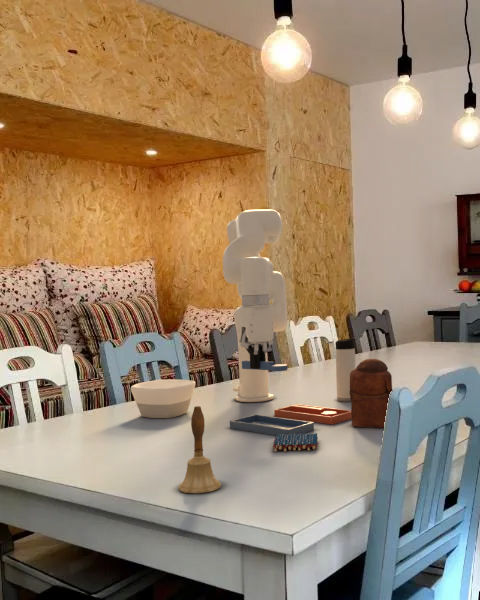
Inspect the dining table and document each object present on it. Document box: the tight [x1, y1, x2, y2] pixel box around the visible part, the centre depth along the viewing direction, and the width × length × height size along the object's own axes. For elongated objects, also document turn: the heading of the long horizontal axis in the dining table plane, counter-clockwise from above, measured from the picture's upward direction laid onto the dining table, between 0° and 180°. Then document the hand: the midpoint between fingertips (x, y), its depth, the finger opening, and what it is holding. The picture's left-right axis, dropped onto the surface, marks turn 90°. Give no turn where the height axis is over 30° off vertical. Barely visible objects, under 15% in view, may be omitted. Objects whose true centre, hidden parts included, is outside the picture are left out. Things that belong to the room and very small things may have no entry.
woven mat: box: [272, 432, 319, 452], centre depth 173 cm, size 10×11×2 cm
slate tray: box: [229, 414, 315, 437], centre depth 193 cm, size 21×10×2 cm, turn 50°
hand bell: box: [178, 405, 222, 494], centre depth 142 cm, size 8×8×16 cm
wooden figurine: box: [350, 358, 393, 429], centre depth 192 cm, size 12×6×18 cm, turn 75°
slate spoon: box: [242, 360, 288, 372], centre depth 198 cm, size 16×5×2 cm, turn 50°
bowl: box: [130, 379, 196, 419], centre depth 219 cm, size 18×18×9 cm
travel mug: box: [335, 337, 357, 403], centre depth 232 cm, size 6×7×20 cm
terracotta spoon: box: [290, 404, 337, 417], centre depth 207 cm, size 16×5×2 cm, turn 50°
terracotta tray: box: [273, 403, 352, 425], centre depth 207 cm, size 21×10×2 cm, turn 50°
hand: (258, 367), depth 200 cm, fingers closed on slate spoon, 1 cm apart
